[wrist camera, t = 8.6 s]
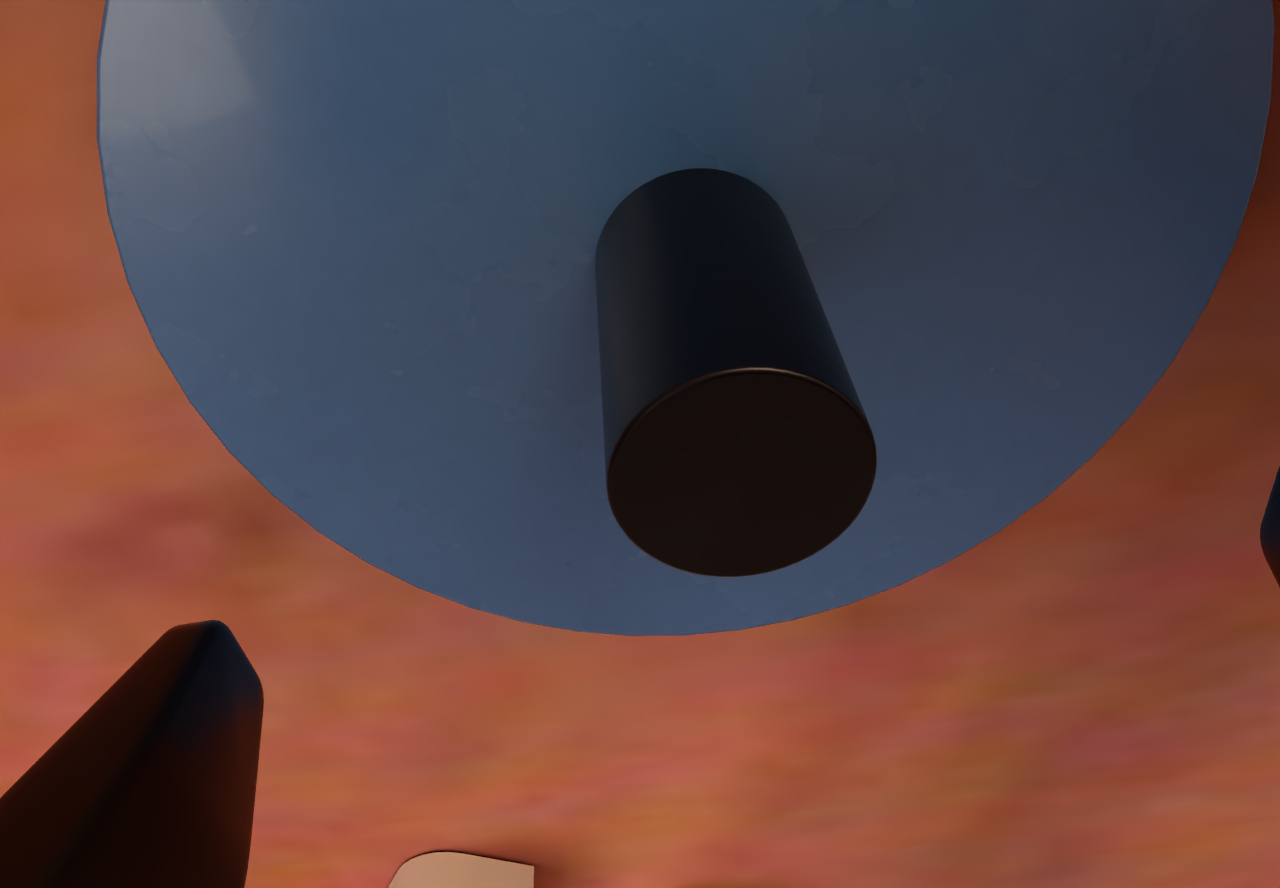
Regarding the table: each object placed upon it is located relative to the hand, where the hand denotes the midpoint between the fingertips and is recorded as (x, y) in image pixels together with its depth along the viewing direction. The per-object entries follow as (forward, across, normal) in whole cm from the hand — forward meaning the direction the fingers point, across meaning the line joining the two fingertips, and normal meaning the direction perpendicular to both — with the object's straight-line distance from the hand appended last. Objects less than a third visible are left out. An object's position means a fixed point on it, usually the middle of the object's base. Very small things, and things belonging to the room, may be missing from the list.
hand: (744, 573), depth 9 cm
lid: (+6, 0, 0) cm, 6 cm away
